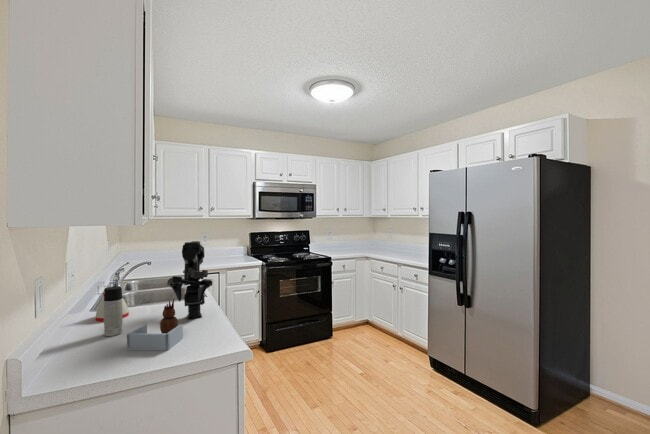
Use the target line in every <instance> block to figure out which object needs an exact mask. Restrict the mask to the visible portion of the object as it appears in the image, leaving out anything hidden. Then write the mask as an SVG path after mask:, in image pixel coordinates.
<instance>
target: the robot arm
mask: <svg viewBox="0 0 650 434" xmlns="http://www.w3.org/2000/svg"><path fill="white" fill-rule="evenodd" d="M181 256H182V258H183V261H184V262H183V263H184V270H183V271H182V273H183V277H182V276H176V275H173V276H172V277H170V278H168V280H167V282H166V286H169V288H171V289H172V290H173V292H174V294H175V295H176V298H177V300H178V302H181V300H182V287H183V285H187V286H186V289H185V293H184V294H183V295H184V296H183V298H184V299H183V300H184V301H183V302H184V307H187V308H188V309H187V312H188V313H187V315H186V317H187V320H191V319H193V320H194V319H199V318H202V317H203V316H202V313H201V305H204V304H205V300H206V299H205V294H204V293H206V290H207V289H208V288H210V287H212V286H213V280H212V279H209V278H207V277H208V275H209V271H208V269H202V271H200V269H201V265H202V263H204V259H205V247H204V245H202V244H201V241H200V240H195V241H194V240H192V241H190V242H189V241H187V242H184V243H183V245H182V249H181Z"/></svg>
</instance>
